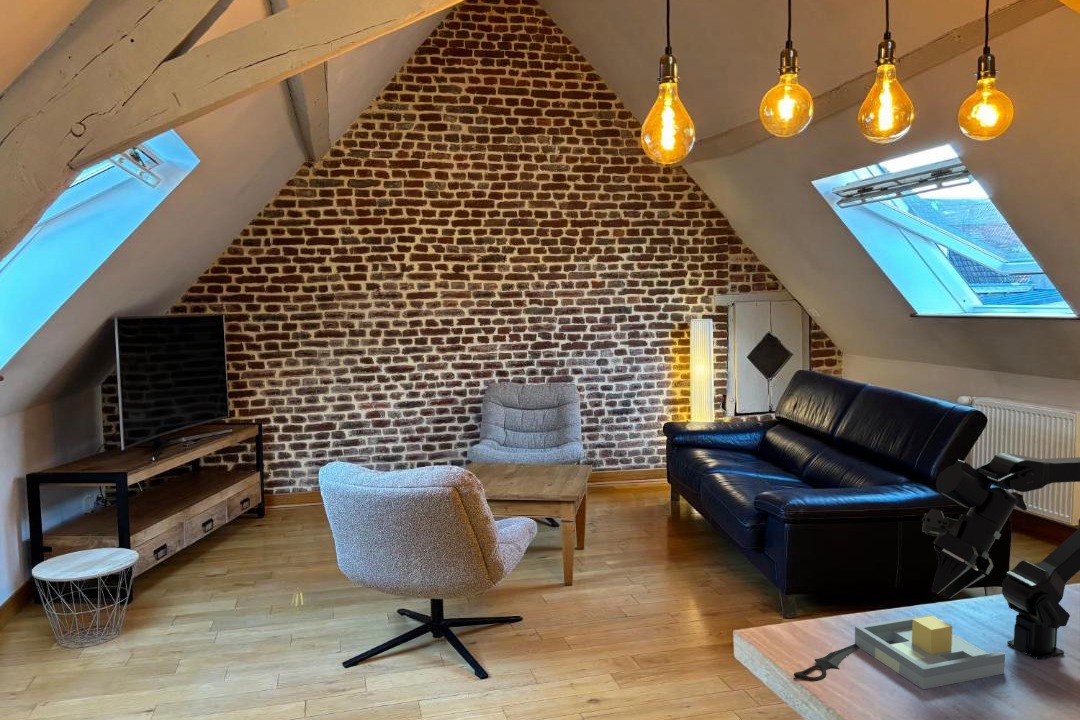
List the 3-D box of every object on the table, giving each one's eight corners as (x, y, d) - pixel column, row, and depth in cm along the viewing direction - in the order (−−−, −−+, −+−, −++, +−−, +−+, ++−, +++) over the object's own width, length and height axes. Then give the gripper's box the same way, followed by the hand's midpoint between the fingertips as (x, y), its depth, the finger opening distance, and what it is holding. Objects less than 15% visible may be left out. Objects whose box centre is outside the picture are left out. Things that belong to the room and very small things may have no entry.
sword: (810, 687, 132) (811, 682, 131) (788, 676, 135) (789, 670, 135) (892, 642, 148) (892, 638, 148) (870, 633, 151) (871, 628, 151)
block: (932, 639, 143) (932, 615, 143) (951, 650, 139) (952, 626, 138) (911, 643, 142) (912, 619, 141) (930, 654, 138) (931, 629, 137)
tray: (929, 631, 151) (929, 613, 150) (1004, 673, 134) (1005, 653, 134) (854, 644, 146) (855, 626, 146) (923, 689, 130) (923, 669, 129)
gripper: (952, 505, 151) (911, 575, 152) (928, 486, 138) (883, 562, 138) (1011, 536, 144) (968, 609, 144) (993, 519, 130) (945, 600, 131)
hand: (940, 594), depth 139 cm, fingers open, 9 cm apart
